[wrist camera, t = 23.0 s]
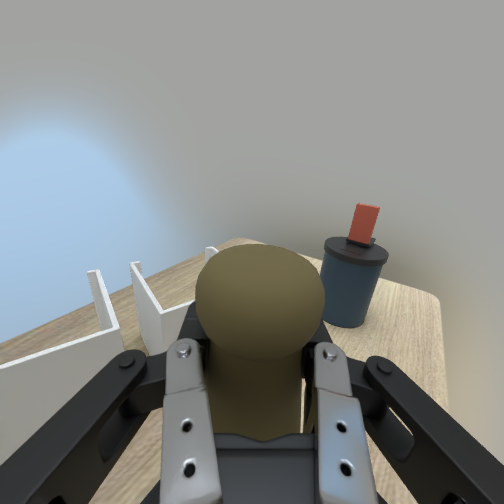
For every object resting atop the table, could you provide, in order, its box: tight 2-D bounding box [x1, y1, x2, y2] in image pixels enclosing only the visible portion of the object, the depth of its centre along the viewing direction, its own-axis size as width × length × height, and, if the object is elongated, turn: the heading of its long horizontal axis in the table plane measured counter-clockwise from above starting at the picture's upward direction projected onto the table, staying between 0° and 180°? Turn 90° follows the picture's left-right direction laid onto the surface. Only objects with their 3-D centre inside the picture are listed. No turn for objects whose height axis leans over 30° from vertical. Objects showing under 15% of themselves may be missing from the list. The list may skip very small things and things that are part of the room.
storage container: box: [0, 246, 219, 466], centre depth 25 cm, size 25×11×11 cm, turn 128°
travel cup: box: [320, 237, 389, 328], centre depth 38 cm, size 9×9×12 cm
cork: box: [195, 244, 325, 441], centre depth 11 cm, size 6×6×11 cm
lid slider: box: [345, 203, 380, 247], centre depth 36 cm, size 4×4×6 cm
